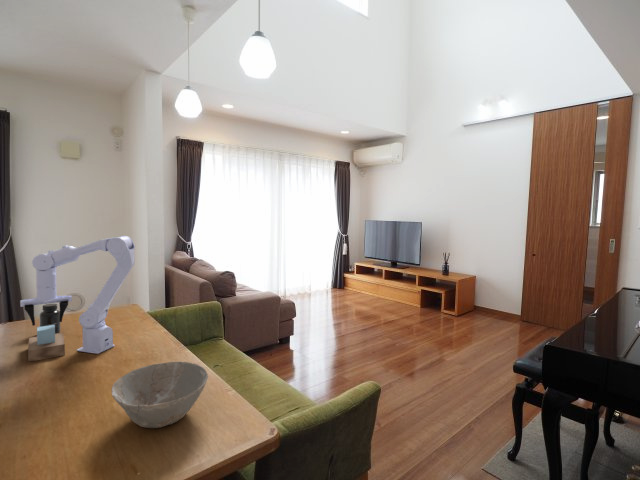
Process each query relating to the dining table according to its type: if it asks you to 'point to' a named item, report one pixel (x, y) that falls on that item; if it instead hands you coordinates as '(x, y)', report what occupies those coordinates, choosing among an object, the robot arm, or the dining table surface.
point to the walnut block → (46, 348)
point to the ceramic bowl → (159, 392)
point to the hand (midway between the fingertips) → (47, 323)
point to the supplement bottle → (50, 316)
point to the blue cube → (45, 334)
